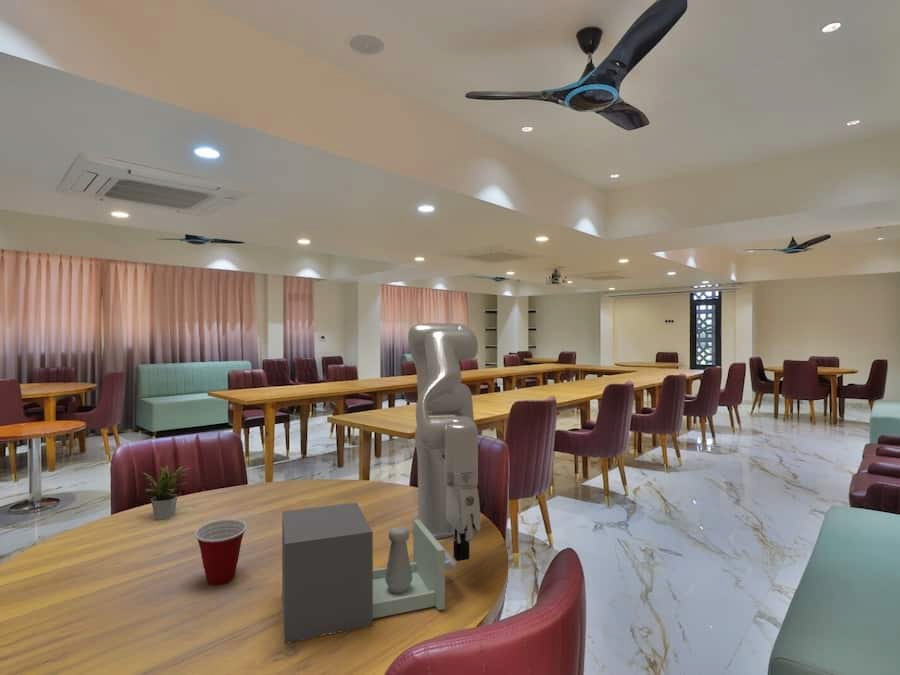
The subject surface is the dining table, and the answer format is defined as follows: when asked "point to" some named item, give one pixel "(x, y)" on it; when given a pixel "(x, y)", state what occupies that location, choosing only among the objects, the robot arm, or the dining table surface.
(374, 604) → the drawer
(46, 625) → the dining table surface
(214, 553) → the plastic cup
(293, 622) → the cabinet
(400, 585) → the salt shaker
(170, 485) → the house plant
